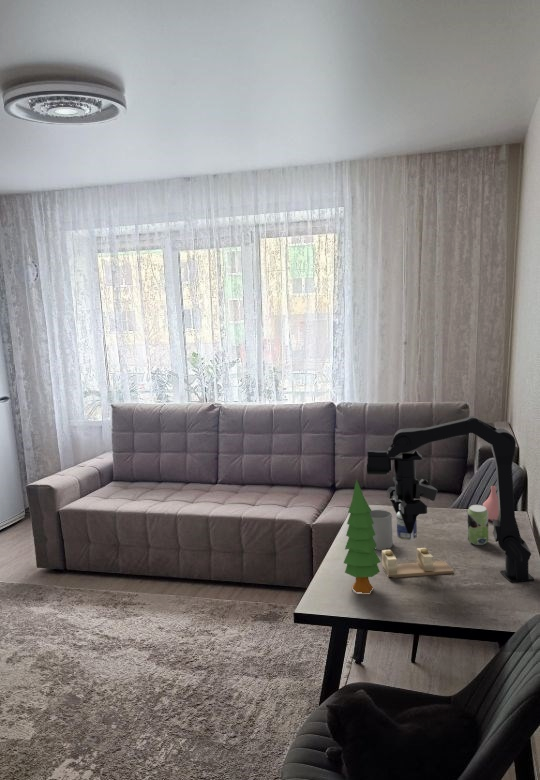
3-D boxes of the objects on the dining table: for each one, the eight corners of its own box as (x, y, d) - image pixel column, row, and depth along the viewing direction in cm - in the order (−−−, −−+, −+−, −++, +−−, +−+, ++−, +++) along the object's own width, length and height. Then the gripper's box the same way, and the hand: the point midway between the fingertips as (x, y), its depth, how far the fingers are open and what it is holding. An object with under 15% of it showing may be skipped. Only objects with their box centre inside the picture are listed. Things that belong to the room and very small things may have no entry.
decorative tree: (345, 597, 145) (340, 482, 143) (342, 581, 155) (338, 473, 152) (383, 596, 145) (379, 481, 142) (378, 580, 154) (375, 472, 151)
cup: (390, 550, 175) (389, 518, 174) (364, 548, 178) (362, 517, 177) (394, 540, 183) (393, 510, 182) (368, 539, 186) (367, 509, 185)
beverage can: (485, 539, 180) (484, 502, 179) (492, 547, 173) (491, 509, 172) (465, 539, 181) (464, 502, 180) (470, 548, 174) (469, 509, 172)
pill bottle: (409, 534, 162) (408, 500, 161) (420, 540, 157) (419, 505, 156) (393, 537, 160) (392, 503, 159) (404, 543, 155) (403, 508, 154)
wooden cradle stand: (453, 573, 156) (452, 552, 156) (388, 577, 155) (387, 557, 155) (444, 563, 163) (443, 543, 163) (382, 567, 162) (381, 547, 162)
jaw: (433, 570, 156) (432, 554, 156) (424, 571, 156) (423, 554, 156) (425, 561, 163) (424, 545, 162) (417, 561, 163) (416, 545, 162)
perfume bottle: (507, 524, 193) (506, 489, 192) (483, 523, 195) (483, 489, 194) (503, 517, 200) (503, 483, 199) (481, 516, 202) (480, 483, 201)
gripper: (445, 481, 148) (447, 539, 149) (423, 465, 167) (424, 517, 168) (403, 484, 148) (405, 542, 149) (385, 468, 166) (387, 520, 167)
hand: (407, 529), depth 158 cm, fingers closed on pill bottle, 5 cm apart
